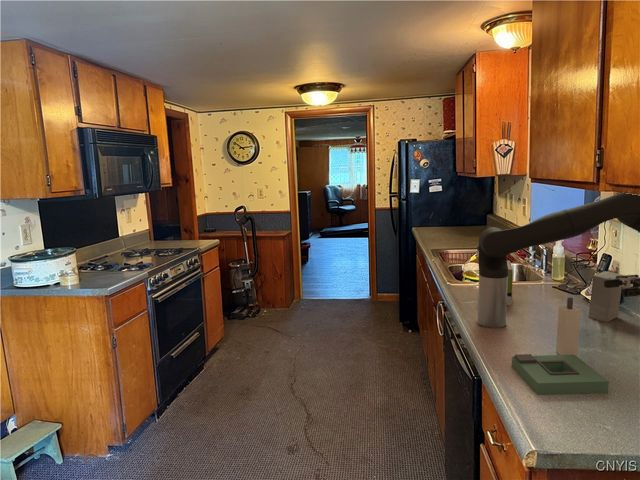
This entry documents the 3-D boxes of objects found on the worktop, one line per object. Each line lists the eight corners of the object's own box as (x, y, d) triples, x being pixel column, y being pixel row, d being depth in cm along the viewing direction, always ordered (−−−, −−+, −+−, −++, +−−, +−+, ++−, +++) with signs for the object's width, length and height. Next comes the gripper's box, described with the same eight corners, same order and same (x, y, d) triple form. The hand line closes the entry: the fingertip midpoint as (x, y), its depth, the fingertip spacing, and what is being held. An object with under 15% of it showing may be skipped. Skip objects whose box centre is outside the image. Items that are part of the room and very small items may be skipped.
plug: (555, 351, 132) (559, 296, 129) (569, 351, 132) (573, 295, 129) (563, 357, 128) (567, 300, 125) (577, 357, 128) (581, 300, 125)
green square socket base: (511, 366, 123) (512, 353, 123) (573, 364, 123) (574, 351, 123) (537, 394, 109) (538, 380, 108) (607, 392, 109) (609, 378, 108)
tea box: (484, 293, 189) (485, 258, 187) (509, 294, 186) (511, 260, 183) (484, 304, 176) (485, 267, 173) (512, 306, 172) (513, 268, 170)
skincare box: (599, 312, 162) (602, 270, 159) (620, 318, 156) (624, 274, 153) (586, 317, 158) (590, 274, 155) (608, 323, 152) (612, 278, 149)
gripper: (657, 264, 129) (599, 268, 130) (695, 276, 115) (629, 282, 116) (656, 289, 130) (599, 293, 132) (694, 304, 116) (629, 309, 118)
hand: (613, 288), depth 124 cm, fingers open, 8 cm apart
